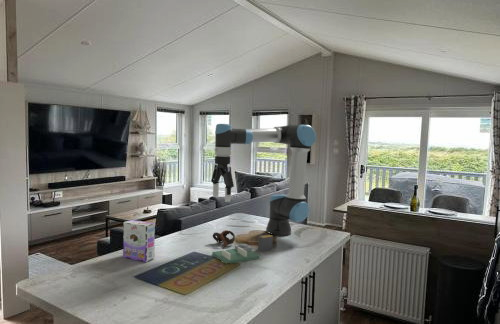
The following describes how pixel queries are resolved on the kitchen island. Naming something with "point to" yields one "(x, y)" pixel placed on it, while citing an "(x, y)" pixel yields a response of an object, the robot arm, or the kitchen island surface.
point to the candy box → (138, 240)
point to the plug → (265, 243)
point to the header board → (236, 254)
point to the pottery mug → (224, 237)
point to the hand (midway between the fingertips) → (221, 199)
